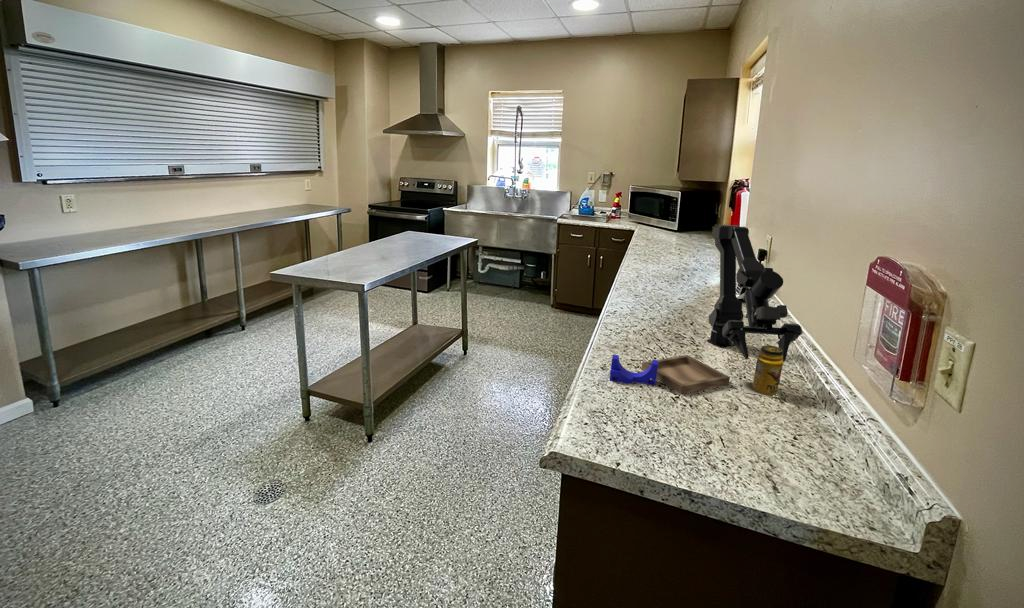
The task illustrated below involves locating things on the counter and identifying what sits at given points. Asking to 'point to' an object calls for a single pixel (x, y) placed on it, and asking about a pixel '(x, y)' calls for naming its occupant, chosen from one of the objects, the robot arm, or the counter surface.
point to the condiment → (766, 372)
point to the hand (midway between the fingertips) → (765, 360)
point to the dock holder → (687, 374)
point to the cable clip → (628, 377)
